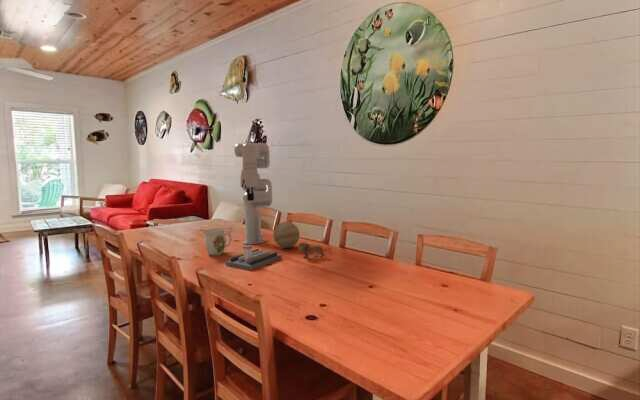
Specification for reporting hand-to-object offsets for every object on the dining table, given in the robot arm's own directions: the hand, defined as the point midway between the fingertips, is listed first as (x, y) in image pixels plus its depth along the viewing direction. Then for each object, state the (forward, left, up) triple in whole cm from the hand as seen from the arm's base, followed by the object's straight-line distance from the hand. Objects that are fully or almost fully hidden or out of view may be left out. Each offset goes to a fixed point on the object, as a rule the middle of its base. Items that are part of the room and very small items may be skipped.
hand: (250, 200), depth 209 cm
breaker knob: (+19, +14, -27) cm, 36 cm away
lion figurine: (-7, +35, -29) cm, 46 cm away
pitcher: (+12, -14, -29) cm, 35 cm away
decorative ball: (-18, +11, -29) cm, 36 cm away
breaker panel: (+14, +14, -29) cm, 35 cm away
